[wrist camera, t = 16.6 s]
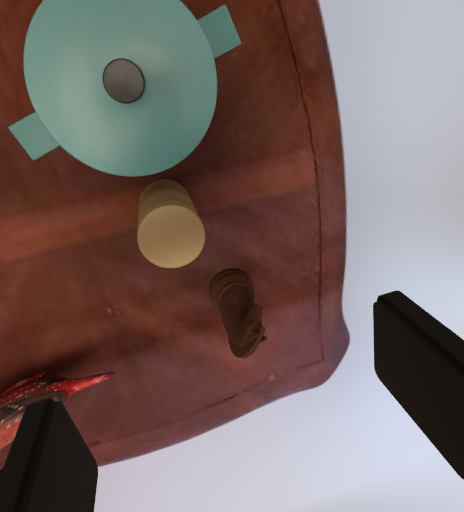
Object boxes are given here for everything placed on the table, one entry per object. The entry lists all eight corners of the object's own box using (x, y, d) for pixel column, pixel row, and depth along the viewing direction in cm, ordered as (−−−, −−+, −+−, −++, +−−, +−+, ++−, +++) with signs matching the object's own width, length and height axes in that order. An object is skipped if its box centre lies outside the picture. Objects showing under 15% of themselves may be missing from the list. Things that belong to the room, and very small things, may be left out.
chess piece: (259, 278, 39) (293, 331, 30) (235, 315, 40) (261, 377, 31) (222, 262, 37) (247, 313, 28) (199, 301, 39) (216, 362, 30)
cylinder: (131, 186, 32) (127, 215, 24) (183, 173, 33) (196, 197, 25) (147, 234, 34) (148, 276, 26) (196, 221, 35) (211, 258, 27)
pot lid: (-17, 34, 21) (-54, 19, 17) (157, -64, 21) (160, -102, 17) (102, 202, 26) (96, 221, 22) (242, 124, 26) (259, 128, 22)
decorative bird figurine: (-45, 400, 37) (-105, 497, 28) (112, 323, 37) (103, 393, 28) (-25, 417, 38) (-76, 515, 29) (127, 342, 39) (122, 416, 30)
